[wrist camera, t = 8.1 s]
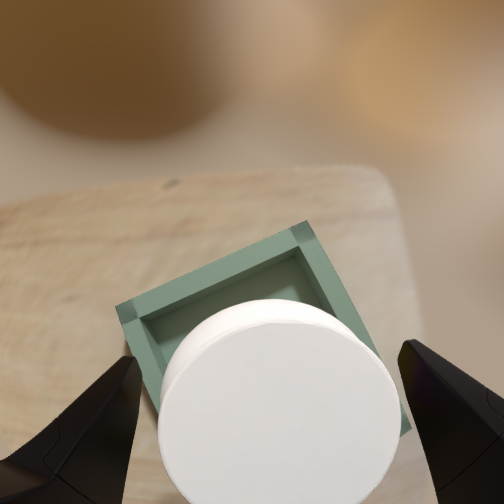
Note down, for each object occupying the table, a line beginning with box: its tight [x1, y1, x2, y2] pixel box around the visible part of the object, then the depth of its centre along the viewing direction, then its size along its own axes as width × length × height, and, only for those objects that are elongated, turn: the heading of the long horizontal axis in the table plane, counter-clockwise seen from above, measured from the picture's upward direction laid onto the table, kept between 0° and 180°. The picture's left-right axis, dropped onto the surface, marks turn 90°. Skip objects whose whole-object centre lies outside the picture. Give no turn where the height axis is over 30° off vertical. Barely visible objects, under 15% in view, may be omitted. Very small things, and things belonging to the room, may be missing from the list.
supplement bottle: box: [158, 299, 401, 504], centre depth 11 cm, size 7×7×13 cm
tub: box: [115, 220, 412, 437], centre depth 16 cm, size 14×12×2 cm
